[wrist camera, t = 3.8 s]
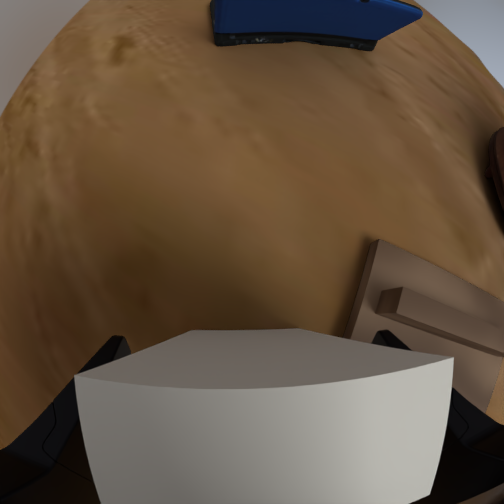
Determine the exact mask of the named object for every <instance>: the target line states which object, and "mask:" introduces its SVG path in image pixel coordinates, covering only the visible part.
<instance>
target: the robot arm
mask: <svg viewBox="0 0 504 504" xmlns="http://www.w3.org/2000/svg"><path fill="white" fill-rule="evenodd" d="M371 344H375V345H380V346H386V347H391V348H397V349H403V350H409V351H412V350H411V349H410V348H409V347H408V346H407V345H406V344H404V343H403V342H402V341H401V340H400V339H399V338H398V337H396V336H395V335H394V334H393V333H392V332H391V331H389V330H387V329H385V330H379V331H377V332H376V334H375V336H374V338H373V340H372V342H371ZM128 355H131V351H130V348H129V346H128V344H127V341H126V339H125V337H124V336H117V335H114V336H112V337H111V338H110V339H109V340H108V341H107V342H106V343H105V344H104V345H103V346H102V347H101V348H100V349H99V350H98V352H97V353H96V354H95V355H94V356H93V357H92V358H91V359H90V360H89V361H88V362H87V363H86V365H85V366H84V367H83V368H82V369H81V370H80V371H79V372H78V373H77V374H79V373H82V372H85V371H88V370H90V369H93V368H96V367H99V366H102V365H104V364H107V363H110V362H112V361H115V360H118V359H120V358H123V357H126V356H128ZM0 504H101V502H100V499H99V496H98V493H97V490H96V487H95V483H94V480H93V476H92V473H91V469H90V465H89V461H88V457H87V453H86V448H85V444H84V439H83V434H82V429H81V423H80V417H79V411H78V404H77V397H76V389H75V379H74V378H73V379H72V380H71V381H70V382H69V383H68V384H67V386H66V387H65V388H64V389H63V390H62V391H61V392H60V393H59V395H58V396H57V397H56V398H55V399H54V400H53V402H52V403H51V404H50V405H49V406H48V407H47V408H46V409H45V410H44V412H43V413H42V414H41V415H40V416H39V417H38V418H37V419H36V420H35V421H34V422H33V423H32V424H31V425H30V426H29V427H28V428H27V429H26V430H25V431H24V432H23V433H22V434H21V435H19V436H18V437H17V438H16V439H15V440H14V441H13V442H12V443H11V444H10V445H8V446H7V447H5V448H3V449H1V450H0ZM409 504H504V425H502V424H499V423H497V422H496V421H494V420H493V419H492V418H490V417H489V416H488V415H486V414H485V413H484V412H482V411H481V410H480V409H478V408H477V407H476V406H474V405H473V404H472V403H471V402H469V401H468V400H467V399H466V398H465V397H464V396H462V395H461V394H460V393H459V392H458V391H457V390H456V389H455V388H454V387H452V389H451V398H450V406H449V413H448V420H447V426H446V431H445V437H444V442H443V446H442V451H441V455H440V460H439V464H438V468H437V471H436V475H435V479H434V482H433V485H432V489H431V492H430V495H428V496H426V497H423V498H421V499H419V500H416V501H414V502H412V503H409Z"/></svg>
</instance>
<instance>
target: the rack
mask: <svg viewBox="0 0 504 504" xmlns="http://www.w3.org/2000/svg"><path fill="white" fill-rule="evenodd" d="M385 329H387V330H389V331H391V332H392V333H393V334H394V335H395V336H396V337H398V338H399V339H400V340H401V341H402V342H403V343H404V344H406V345H407V346H408V347H409V348H410V349H411V350H412V351H415V352H421V353H428V354H434V355H441V356H448V357H454V364H453V378H452V387H454V388H455V389H456V390H457V391H458V392H459V393H460V394H461V395H462V396H464V397H465V398H466V399H467V400H468V401H469V402H471V403H472V404H473V405H474V406H476V407H477V408H478V409H480V410H481V411H482V412H484V413H485V412H486V410H487V407H488V404H489V402H490V399H491V396H492V393H493V390H494V387H495V384H496V381H497V377H498V374H499V370H500V367H501V363H502V359H503V357H504V302H503V301H501V300H499V299H497V298H496V297H494V296H492V295H490V294H488V293H487V292H485V291H483V290H481V289H479V288H478V287H476V286H474V285H472V284H470V283H468V282H466V281H465V280H463V279H461V278H459V277H457V276H455V275H453V274H451V273H449V272H447V271H445V270H443V269H441V268H439V267H437V266H435V265H433V264H431V263H429V262H427V261H425V260H423V259H421V258H419V257H417V256H415V255H413V254H411V253H409V252H407V251H405V250H403V249H400V248H398V247H396V246H394V245H392V244H390V243H388V242H385V241H383V240H381V239H378V240H376V241H374V242H372V243H371V244H370V248H369V252H368V256H367V260H366V264H365V267H364V271H363V275H362V278H361V282H360V285H359V289H358V292H357V295H356V299H355V302H354V305H353V308H352V311H351V314H350V317H349V320H348V323H347V326H346V329H345V332H344V335H343V338H345V339H350V340H355V341H360V342H365V343H370V344H371V342H372V340H373V338H374V336H375V334H376V332H377V331H379V330H385Z"/></svg>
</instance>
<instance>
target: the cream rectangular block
mask: <svg viewBox="0 0 504 504" xmlns="http://www.w3.org/2000/svg"><path fill="white" fill-rule="evenodd" d="M453 364H454V357H448V356H441V355H434V354H428V353H421V352H415V351H409V350H403V349H397V348H391V347H386V346H380V345H375V344H370V343H365V342H360V341H355V340H350V339H345V338H340V337H336V336H331V335H326V334H322V333H317V332H313V331H309V330H304V329H300V328H292V329H268V330H191V331H188V332H186V333H184V334H181V335H179V336H176V337H174V338H171V339H169V340H166V341H164V342H162V343H159V344H157V345H154V346H151V347H149V348H146V349H144V350H141V351H139V352H136V353H134V354H131V355H128V356H126V357H123V358H120V359H118V360H115V361H112V362H110V363H107V364H104V365H102V366H99V367H96V368H93V369H90V370H88V371H85V372H82V373H79V374H76V375H74V379H75V389H76V397H77V404H78V411H79V417H80V423H81V429H82V434H83V439H84V444H85V448H86V453H87V457H88V461H89V465H90V469H91V473H92V476H93V480H94V483H95V487H96V490H97V493H98V496H99V499H100V502H101V504H409V503H412V502H414V501H416V500H419V499H421V498H423V497H426V496H428V495H430V492H431V489H432V485H433V482H434V479H435V475H436V471H437V468H438V464H439V460H440V455H441V451H442V446H443V442H444V437H445V431H446V426H447V420H448V413H449V406H450V398H451V389H452V378H453Z"/></svg>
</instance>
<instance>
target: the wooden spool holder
mask: <svg viewBox="0 0 504 504" xmlns="http://www.w3.org/2000/svg"><path fill="white" fill-rule="evenodd" d="M489 158H490V166H489V167H488V168H487V170H486V172H485V176H486V177H487V178H493V179H494V183H495V187H496V190H497V193H498V196H499V199H500V202H501V205H502V208H503V210H504V127H502V128H500V129H499V130H498V131H496V132H495V133H494V134H493V135H492V137H491V139H490V143H489Z"/></svg>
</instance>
